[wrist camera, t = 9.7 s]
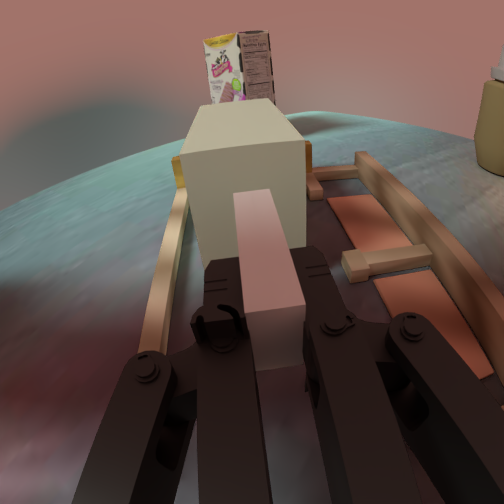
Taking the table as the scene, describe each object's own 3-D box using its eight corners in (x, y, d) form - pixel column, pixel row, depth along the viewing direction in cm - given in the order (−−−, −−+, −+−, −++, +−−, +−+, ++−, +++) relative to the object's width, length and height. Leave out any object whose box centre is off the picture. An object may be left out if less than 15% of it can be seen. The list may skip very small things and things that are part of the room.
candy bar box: (214, 136, 48) (201, 39, 39) (241, 129, 50) (230, 36, 40) (249, 150, 40) (236, 30, 31) (280, 142, 42) (271, 29, 32)
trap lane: (533, 412, 9) (577, 368, 7) (129, 507, 9) (79, 488, 6) (364, 172, 32) (365, 138, 29) (180, 192, 32) (173, 156, 29)
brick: (305, 281, 20) (305, 139, 14) (210, 293, 20) (179, 154, 14) (274, 187, 31) (268, 98, 25) (214, 194, 31) (200, 106, 25)
